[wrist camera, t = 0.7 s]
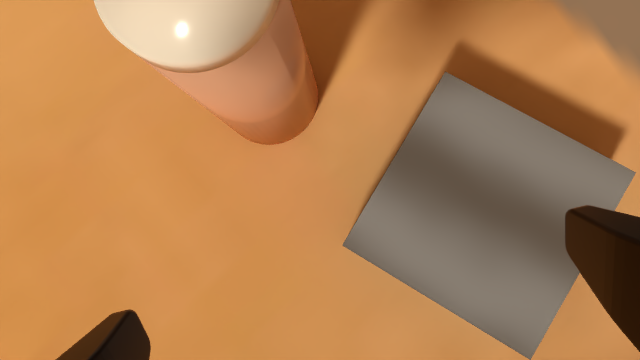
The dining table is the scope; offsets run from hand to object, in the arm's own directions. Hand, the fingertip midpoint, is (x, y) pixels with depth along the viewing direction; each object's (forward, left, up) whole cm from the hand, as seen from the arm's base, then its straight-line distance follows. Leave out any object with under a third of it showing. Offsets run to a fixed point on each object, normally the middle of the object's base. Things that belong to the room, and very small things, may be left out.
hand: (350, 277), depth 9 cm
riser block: (+5, -4, -16) cm, 17 cm away
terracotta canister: (+5, +9, -16) cm, 19 cm away
